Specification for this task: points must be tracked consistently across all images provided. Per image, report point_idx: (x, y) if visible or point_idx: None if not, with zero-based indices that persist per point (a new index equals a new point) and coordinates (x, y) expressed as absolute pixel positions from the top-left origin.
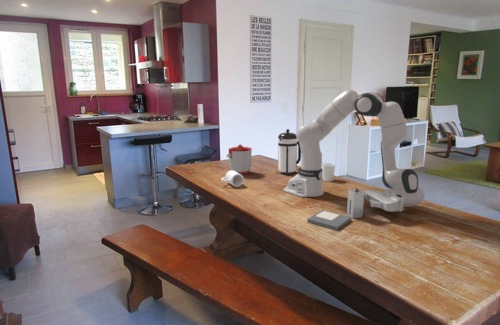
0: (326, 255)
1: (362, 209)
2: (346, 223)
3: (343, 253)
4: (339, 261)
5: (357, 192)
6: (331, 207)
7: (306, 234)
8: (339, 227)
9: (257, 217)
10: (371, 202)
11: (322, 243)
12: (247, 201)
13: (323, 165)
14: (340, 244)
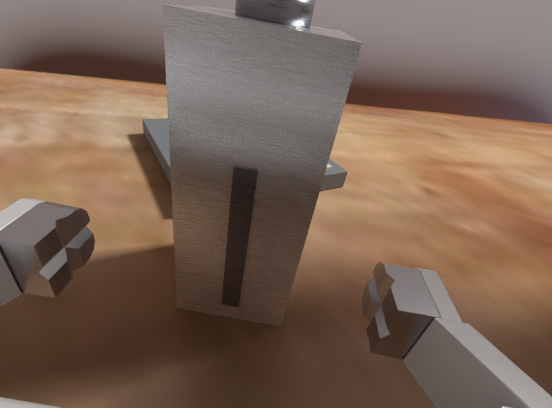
0: (57, 74)
1: (176, 245)
2: (168, 180)
3: (16, 84)
4: (6, 70)
5: (208, 7)
6: (435, 255)
7: None
8: (148, 139)
9: None
10: (58, 212)
11: (111, 91)
12: (466, 128)
13: None
14: (58, 100)
